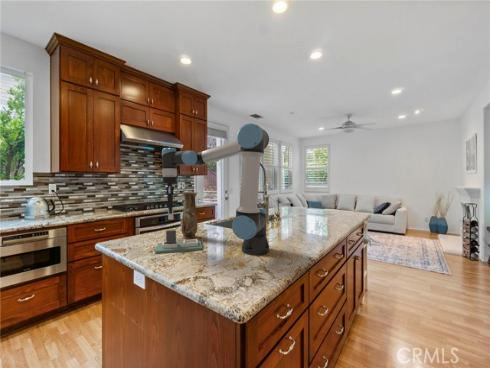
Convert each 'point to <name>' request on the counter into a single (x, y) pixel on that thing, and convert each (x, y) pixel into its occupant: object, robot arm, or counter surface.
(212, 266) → the counter surface
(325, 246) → the counter surface
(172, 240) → the plug
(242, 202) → the robot arm
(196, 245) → the board
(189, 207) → the vase
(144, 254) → the counter surface
